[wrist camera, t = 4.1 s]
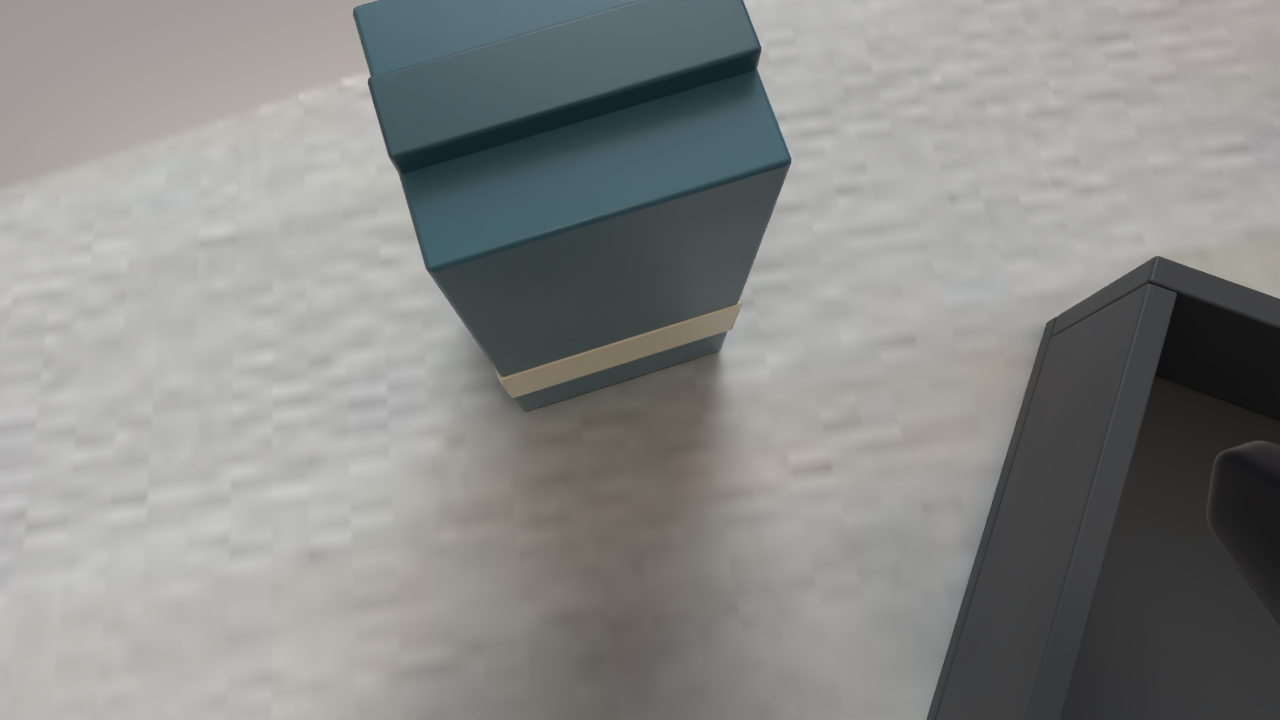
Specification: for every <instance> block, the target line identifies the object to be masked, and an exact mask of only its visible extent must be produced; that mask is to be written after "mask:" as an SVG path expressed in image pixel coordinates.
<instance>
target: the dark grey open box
mask: <svg viewBox="0 0 1280 720" xmlns="http://www.w3.org/2000/svg"><path fill="white" fill-rule="evenodd" d="M1252 441H1267V442H1271V443H1274V444H1277V445H1280V299H1278V298H1275V297H1272V296H1270V295H1267V294H1264V293H1261V292H1258V291H1255V290H1253V289H1250V288H1247V287H1244V286H1241V285H1238V284H1236V283H1233V282H1230V281H1227V280H1224V279H1221V278H1219V277H1216V276H1213V275H1210V274H1207V273H1205V272H1202V271H1199V270H1196V269H1193V268H1190V267H1188V266H1185V265H1182V264H1179V263H1176V262H1173V261H1171V260H1168V259H1165V258H1162V257H1159V256H1156V257H1154V258H1152V259H1151V260H1149V261H1147V262H1146V263H1144V264H1142V265H1141V266H1139V267H1137V268H1136V269H1134V270H1132V271H1131V272H1129V273H1128V274H1126V275H1124V276H1123V277H1121V278H1119V279H1118V280H1116V281H1114V282H1113V283H1111V284H1109V285H1108V286H1106V287H1104V288H1103V289H1101V290H1100V291H1098V292H1096V293H1095V294H1093V295H1091V296H1090V297H1088V298H1086V299H1085V300H1083V301H1081V302H1080V303H1078V304H1077V305H1075V306H1073V307H1072V308H1070V309H1068V310H1067V311H1065V312H1063V313H1062V314H1060V315H1059V316H1058V317H1055V318H1054V319H1052V320H1050V321H1049V322H1048V323H1047V324H1046V328H1045V331H1044V334H1043V338H1042V341H1041V344H1040V347H1039V351H1038V354H1037V357H1036V361H1035V364H1034V367H1033V371H1032V374H1031V377H1030V380H1029V384H1028V387H1027V390H1026V394H1025V397H1024V400H1023V404H1022V407H1021V410H1020V413H1019V417H1018V420H1017V423H1016V427H1015V430H1014V433H1013V437H1012V440H1011V443H1010V446H1009V450H1008V453H1007V456H1006V460H1005V463H1004V466H1003V470H1002V473H1001V476H1000V480H999V483H998V486H997V489H996V493H995V496H994V499H993V503H992V506H991V509H990V513H989V516H988V519H987V522H986V526H985V529H984V532H983V536H982V539H981V542H980V546H979V549H978V552H977V555H976V559H975V562H974V565H973V569H972V572H971V575H970V579H969V582H968V585H967V588H966V592H965V595H964V598H963V602H962V605H961V608H960V612H959V615H958V618H957V622H956V625H955V628H954V631H953V635H952V638H951V641H950V645H949V648H948V651H947V655H946V658H945V661H944V664H943V668H942V671H941V674H940V678H939V681H938V684H937V688H936V691H935V694H934V697H933V701H932V704H931V707H930V711H929V714H928V717H927V720H1280V625H1279V624H1278V623H1277V621H1276V620H1275V619H1274V617H1273V616H1272V615H1271V613H1270V612H1269V610H1268V609H1267V608H1266V606H1265V605H1264V604H1263V602H1262V601H1261V600H1260V598H1259V597H1258V596H1257V594H1256V593H1255V592H1254V590H1253V589H1252V588H1251V586H1250V585H1249V583H1248V582H1247V581H1246V579H1245V578H1244V577H1243V575H1242V574H1241V573H1240V571H1239V570H1238V569H1237V567H1236V566H1235V565H1234V563H1233V562H1232V561H1231V559H1230V558H1229V557H1228V555H1227V554H1226V552H1225V551H1224V550H1223V548H1222V547H1221V546H1220V544H1219V543H1218V542H1217V540H1216V539H1215V537H1214V536H1213V534H1212V532H1211V530H1210V528H1209V525H1208V522H1207V516H1206V508H1207V501H1208V495H1209V488H1210V481H1211V475H1212V468H1213V463H1214V460H1215V458H1216V457H1217V455H1218V454H1219V453H1220V452H1222V451H1224V450H1227V449H1230V448H1233V447H1236V446H1239V445H1242V444H1245V443H1248V442H1252Z"/></svg>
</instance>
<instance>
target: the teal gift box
mask: <svg viewBox="0 0 1280 720" xmlns="http://www.w3.org/2000/svg"><path fill="white" fill-rule="evenodd" d="M353 16H354V19H355V23H356V26H357V30H358V33H359V37H360V40H361V44H362V47H363V51H364V54H365V58H366V61H367V64H368V68H369V72H370V75H371V77H370V78H369V79H368V86H369V89H370V93H371V96H372V100H373V103H374V107H375V110H376V114H377V117H378V121H379V124H380V128H381V131H382V135H383V138H384V142H385V145H386V149H387V152H388V156H389V158H390V160H391V161H392V163H393V165H394V166H395V168H396V170H397V171H398V173H399V176H400V180H401V183H402V187H403V190H404V194H405V197H406V200H407V204H408V207H409V211H410V214H411V218H412V221H413V225H414V228H415V232H416V235H417V239H418V242H419V246H420V249H421V253H422V256H423V260H424V263H425V267H426V269H427V271H428V272H429V274H430V275H431V277H432V278H433V279H434V281H435V282H436V284H437V285H438V287H439V288H440V290H441V291H442V292H443V294H444V295H445V297H446V298H447V300H448V301H449V303H450V304H451V305H452V307H453V308H454V310H455V311H456V313H457V314H458V316H459V317H460V318H461V320H462V321H463V323H464V324H465V326H466V327H467V329H468V330H469V331H470V333H471V334H472V336H473V337H474V339H475V340H476V342H477V343H478V344H479V346H480V347H481V349H482V350H483V352H484V353H485V355H486V356H487V357H488V359H489V360H490V362H491V363H492V365H493V366H494V368H495V370H496V373H497V377H498V379H499V381H500V382H501V384H502V385H503V386H504V388H505V389H506V391H507V392H508V393H509V395H510V396H511V397H512V398H516V399H517V401H518V402H519V404H520V405H521V406H522V408H523V409H524V411H530V410H533V409H536V408H540V407H543V406H546V405H549V404H552V403H555V402H559V401H562V400H565V399H568V398H571V397H574V396H578V395H581V394H584V393H587V392H590V391H593V390H597V389H600V388H603V387H606V386H609V385H613V384H616V383H619V382H622V381H625V380H628V379H632V378H635V377H638V376H641V375H644V374H647V373H651V372H654V371H657V370H660V369H663V368H666V367H670V366H673V365H676V364H679V363H682V362H685V361H689V360H692V359H695V358H698V357H701V356H704V355H708V354H711V353H714V352H717V351H719V350H720V349H721V347H722V344H723V341H724V339H725V336H726V334H727V331H728V330H731V329H732V328H733V325H734V323H735V320H736V318H737V315H738V312H739V310H740V307H741V300H740V296H741V294H742V291H743V289H744V286H745V283H746V281H747V278H748V275H749V273H750V270H751V267H752V265H753V262H754V259H755V257H756V254H757V251H758V249H759V246H760V243H761V241H762V238H763V236H764V233H765V230H766V228H767V225H768V222H769V220H770V217H771V214H772V212H773V209H774V206H775V204H776V201H777V198H778V196H779V193H780V191H781V188H782V185H783V183H784V180H785V177H786V175H787V172H788V169H789V167H790V164H791V157H790V154H789V152H788V149H787V146H786V144H785V141H784V139H783V136H782V133H781V131H780V128H779V126H778V123H777V120H776V118H775V115H774V112H773V110H772V107H771V105H770V102H769V99H768V97H767V94H766V92H765V89H764V86H763V84H762V81H761V79H760V76H759V73H758V71H757V66H758V62H759V58H760V53H761V46H760V43H759V40H758V38H757V35H756V33H755V30H754V27H753V25H752V22H751V20H750V17H749V15H748V12H747V9H746V7H745V4H744V2H743V0H379V1H375V2H372V3H368V4H364V5H361V6H357V7H355V8H354V10H353Z"/></svg>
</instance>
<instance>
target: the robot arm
mask: <svg viewBox="0 0 1280 720" xmlns="http://www.w3.org/2000/svg"><path fill="white" fill-rule="evenodd" d="M1206 516H1207V522H1208V525H1209V528H1210V530H1211V532H1212V534H1213V536H1214V537H1215V539H1216V540H1217V542H1218V543H1219V544H1220V546H1221V547H1222V548H1223V550H1224V551H1225V552H1226V554H1227V555H1228V557H1229V558H1230V559H1231V561H1232V562H1233V563H1234V565H1235V566H1236V567H1237V569H1238V570H1239V571H1240V573H1241V574H1242V575H1243V577H1244V578H1245V579H1246V581H1247V582H1248V583H1249V585H1250V586H1251V588H1252V589H1253V590H1254V592H1255V593H1256V594H1257V596H1258V597H1259V598H1260V600H1261V601H1262V602H1263V604H1264V605H1265V606H1266V608H1267V609H1268V610H1269V612H1270V613H1271V615H1272V616H1273V617H1274V619H1275V620H1276V621H1277V623H1278V624H1279V625H1280V445H1277V444H1274V443H1271V442H1267V441H1252V442H1248V443H1245V444H1242V445H1239V446H1236V447H1233V448H1230V449H1227V450H1224V451H1222V452H1220V453H1219V454H1218V455H1217V457H1216V458H1215V460H1214V463H1213V468H1212V475H1211V481H1210V488H1209V495H1208V501H1207V508H1206Z"/></svg>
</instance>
